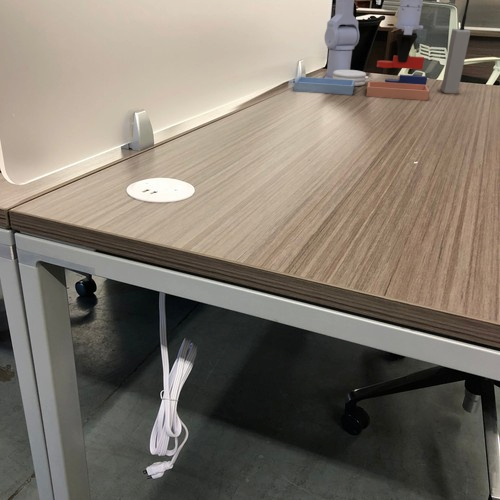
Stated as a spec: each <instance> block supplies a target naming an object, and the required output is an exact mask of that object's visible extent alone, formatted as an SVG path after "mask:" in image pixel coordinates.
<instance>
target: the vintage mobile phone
mask: <svg viewBox="0 0 500 500" xmlns="http://www.w3.org/2000/svg"><path fill="white" fill-rule="evenodd" d="M469 2H470V0H466V1H465V6H464V7H465V8H464V12H463V14H462V15H463V16H462V20H461V24H460V27H459V28H452V29H451V34H450V40H449V45H448V51H447V52H448V53H447V58H446V63H445V67H444V73H443V79H442V81H441V84H440V88H439V89H440V91H441V93H443V94H450V95H457V94H458V93H459V89H460V83H461V79H462V74H463V70H464V65H465V59H466V56H467V52H468V51H467V50H468V46H469V42H470V36H471V30H470V29H465V24H466V20H467V13H468V8H469Z"/></svg>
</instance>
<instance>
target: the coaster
mask: <svg viewBox="0 0 500 500" xmlns="http://www.w3.org/2000/svg"><path fill="white" fill-rule="evenodd" d="M366 76H367V72H365V71H361V70H355V69H350V70H336V71H334V72H333V79H344V80H355V85H354V87H363V86H364V85H365V84H366V80H367V78H366Z"/></svg>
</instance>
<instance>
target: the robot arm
mask: <svg viewBox="0 0 500 500" xmlns="http://www.w3.org/2000/svg"><path fill="white" fill-rule="evenodd" d="M354 4H355V0H335V12H334V16H333V17H332V18H330V19H329V20H328V21H326V22H327V23H326V30H325V33H324V43H325V45H326V47H327V49H328V57H327V66H326V67H327V68H326V75H325V76H324V77H323V78H329V79H333V72H334V71H336V70H351V64H352V56H353V50H355V47H357V45H358V44H359V42H360V41H359V40H360V30H359V20H358V19H357V18H356V17H355V16H354V6H355V5H354ZM423 4H424V0H399V5H398V6H399V7H398V13H397V20H396V24H395V29H399V30H401V33H398V32H397V33H394V34H395V38H396V43H397V56H398V62H406V61H407V59H408V56H410V53H411V50H412V47H413V45H414V43H415V41H416V40H417V38H418V33H416V32H414V30H419V29H421V30H422V29H424V25H420V21H421V15H422V9H423ZM341 25H342V26H341ZM344 25H345V26H344Z"/></svg>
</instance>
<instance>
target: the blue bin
mask: <svg viewBox="0 0 500 500" xmlns="http://www.w3.org/2000/svg"><path fill="white" fill-rule="evenodd" d="M354 85H355V80H344V79H329V78H324V77H312V76H299V77H297V79H296V80H295V81H294V85H293V92H302V93H303V92H305V93H317V94H318V93H320V94H330V95H331V94H332V95H344V96H345V95H347V96H353V93H354V90H355V86H354Z"/></svg>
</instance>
